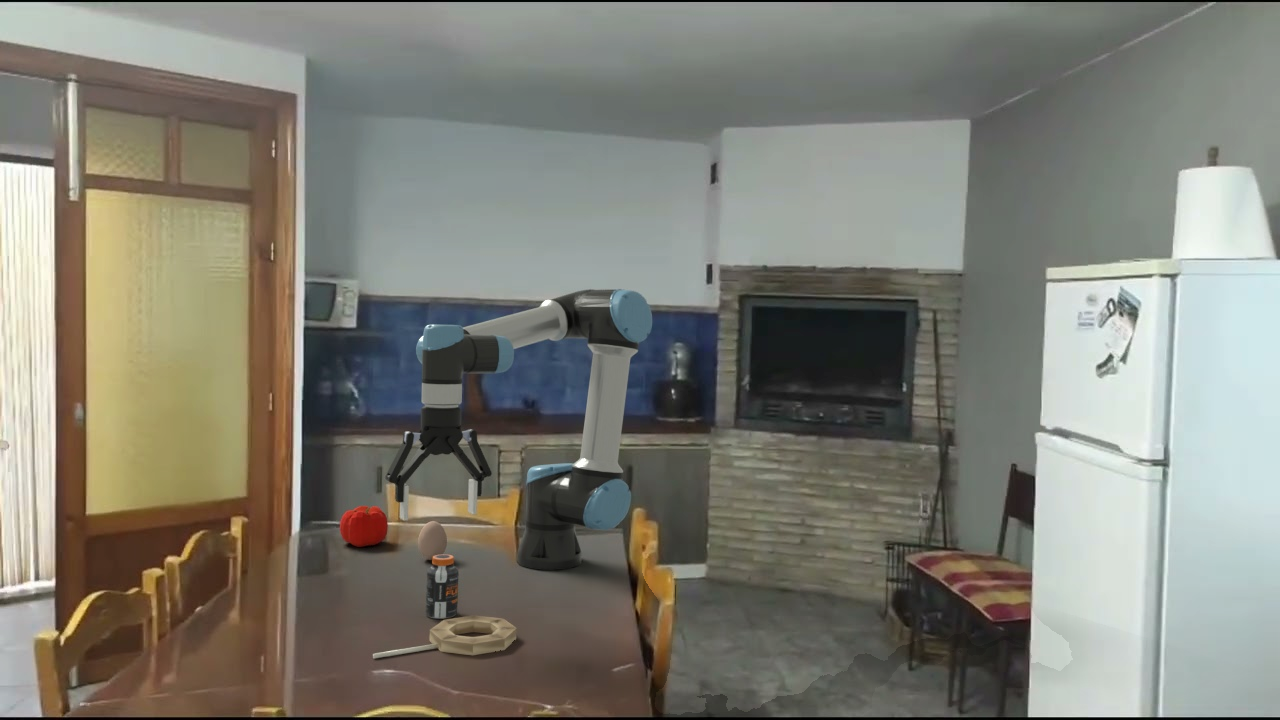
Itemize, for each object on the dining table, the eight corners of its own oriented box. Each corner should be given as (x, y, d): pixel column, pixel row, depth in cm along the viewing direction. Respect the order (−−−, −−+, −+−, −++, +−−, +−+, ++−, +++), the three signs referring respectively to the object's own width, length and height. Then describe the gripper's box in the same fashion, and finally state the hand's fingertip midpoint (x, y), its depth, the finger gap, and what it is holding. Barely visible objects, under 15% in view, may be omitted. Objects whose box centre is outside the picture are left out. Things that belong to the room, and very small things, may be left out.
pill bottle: (449, 620, 176) (451, 561, 176) (420, 617, 177) (421, 558, 177) (462, 611, 182) (463, 553, 182) (433, 608, 183) (434, 551, 183)
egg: (451, 561, 218) (451, 522, 218) (423, 565, 215) (424, 525, 214) (440, 555, 224) (440, 517, 223) (413, 558, 220) (414, 519, 220)
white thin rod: (436, 647, 162) (436, 642, 162) (438, 648, 161) (438, 644, 161) (372, 657, 156) (372, 653, 156) (374, 659, 155) (374, 654, 155)
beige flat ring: (494, 622, 176) (494, 612, 176) (526, 646, 164) (526, 635, 164) (421, 634, 168) (421, 623, 168) (449, 659, 157) (449, 647, 156)
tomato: (350, 538, 238) (351, 502, 237) (395, 541, 236) (396, 505, 236) (330, 548, 227) (331, 511, 227) (378, 551, 225) (378, 514, 225)
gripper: (494, 402, 188) (491, 507, 189) (370, 404, 175) (367, 517, 176) (510, 406, 182) (507, 514, 183) (381, 408, 169) (379, 525, 169)
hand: (438, 516), depth 179 cm, fingers open, 13 cm apart
